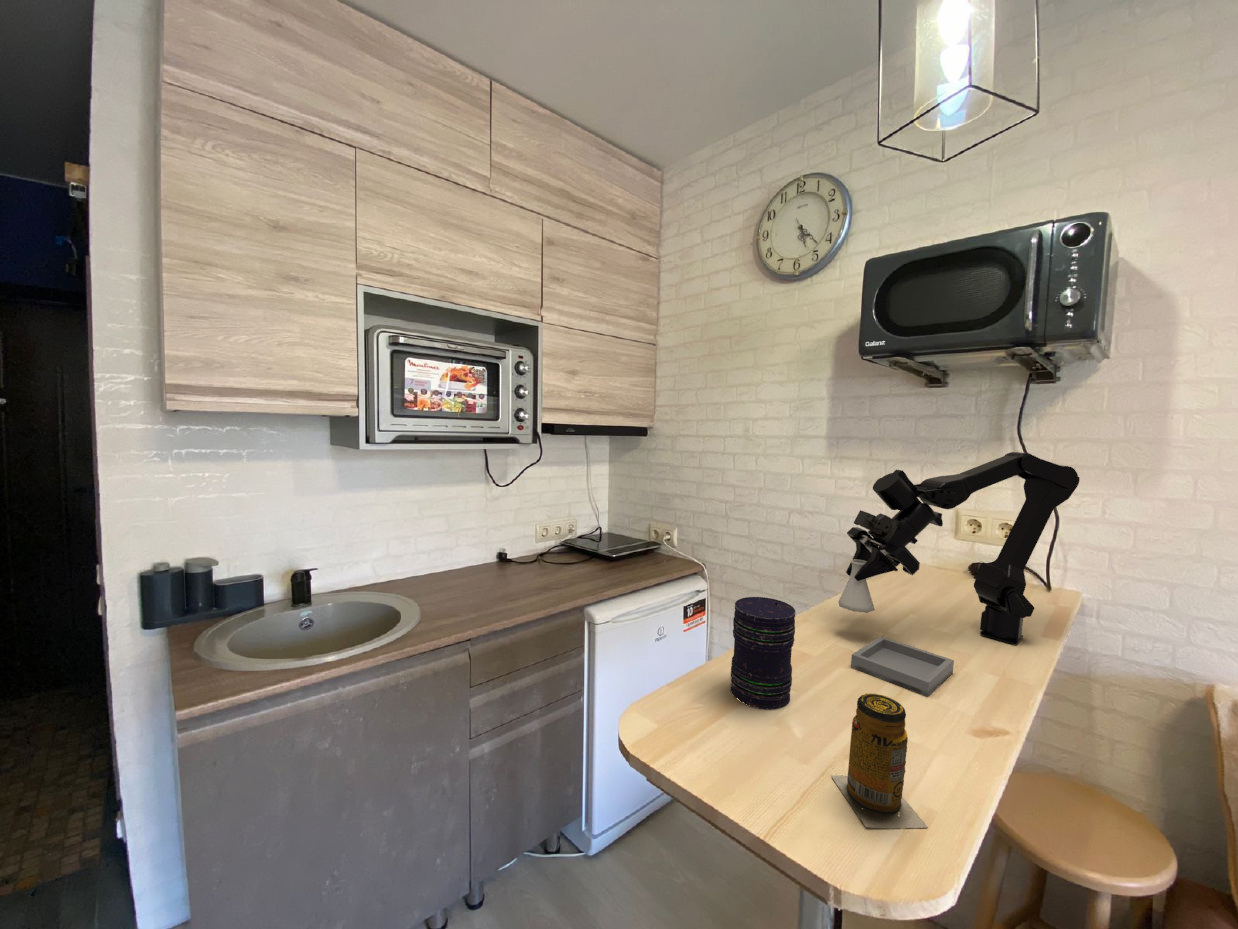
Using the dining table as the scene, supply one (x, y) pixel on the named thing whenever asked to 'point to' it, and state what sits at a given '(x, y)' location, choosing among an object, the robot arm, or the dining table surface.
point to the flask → (856, 592)
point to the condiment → (878, 765)
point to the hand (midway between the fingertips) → (851, 576)
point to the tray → (903, 665)
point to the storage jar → (762, 652)
